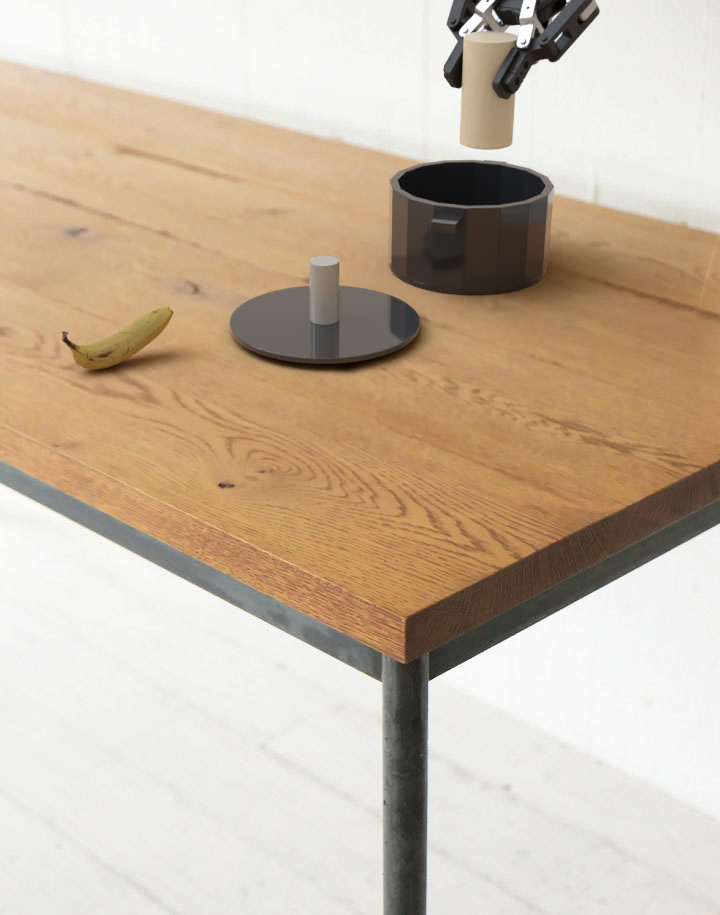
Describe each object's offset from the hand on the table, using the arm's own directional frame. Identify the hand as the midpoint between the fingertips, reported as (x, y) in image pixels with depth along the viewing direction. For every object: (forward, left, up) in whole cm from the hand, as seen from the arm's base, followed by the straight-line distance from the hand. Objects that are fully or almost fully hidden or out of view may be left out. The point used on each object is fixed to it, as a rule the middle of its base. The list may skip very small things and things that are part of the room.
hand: (475, 87), depth 114 cm
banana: (+25, +20, -21) cm, 38 cm away
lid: (+11, +8, -20) cm, 24 cm away
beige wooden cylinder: (-1, -2, -5) cm, 5 cm away
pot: (+3, -12, -20) cm, 24 cm away
